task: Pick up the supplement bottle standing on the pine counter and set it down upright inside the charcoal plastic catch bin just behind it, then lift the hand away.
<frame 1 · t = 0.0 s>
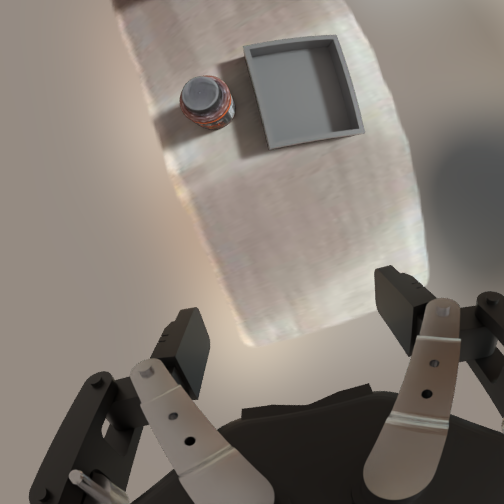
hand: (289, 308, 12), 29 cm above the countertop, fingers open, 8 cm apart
supplement bottle: (215, 111, 36), on the countertop
catch bin: (301, 92, 34), on the countertop
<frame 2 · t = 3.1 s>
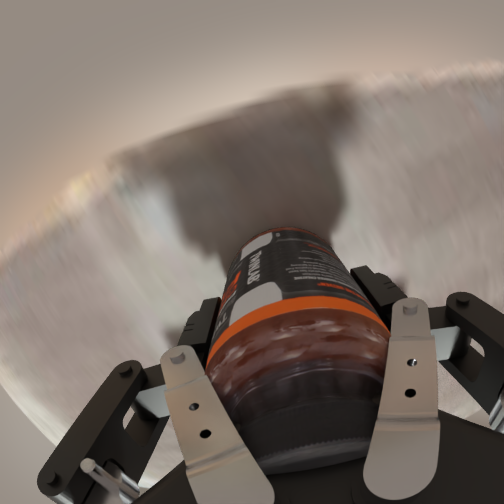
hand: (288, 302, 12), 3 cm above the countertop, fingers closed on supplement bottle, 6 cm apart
supplement bottle: (283, 277, 15), on the countertop, touching gripper
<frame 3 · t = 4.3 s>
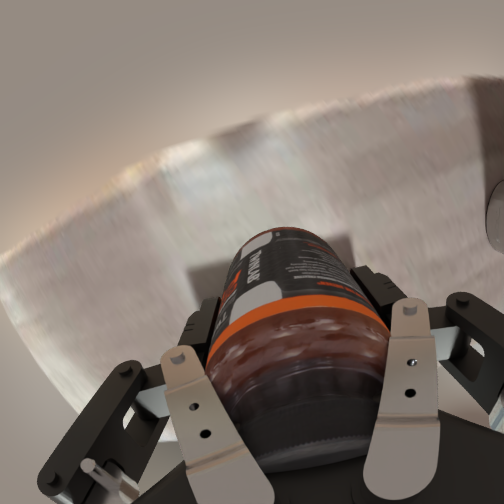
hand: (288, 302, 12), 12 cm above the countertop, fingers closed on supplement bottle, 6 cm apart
supplement bottle: (283, 276, 15), point 9 cm above the countertop, touching gripper
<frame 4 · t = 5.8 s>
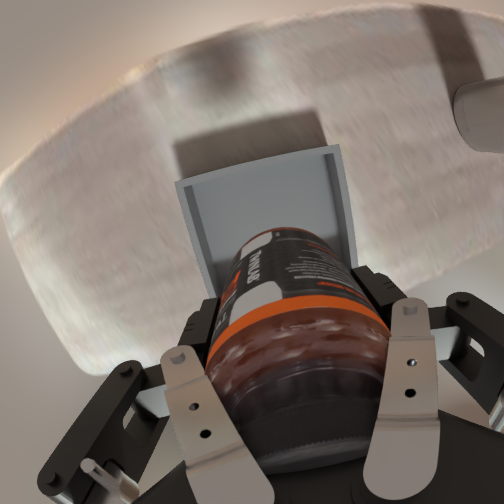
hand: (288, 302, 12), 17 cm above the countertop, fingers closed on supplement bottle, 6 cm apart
supplement bottle: (283, 276, 15), point 14 cm above the countertop, touching gripper
catch bin: (270, 221, 29), on the countertop
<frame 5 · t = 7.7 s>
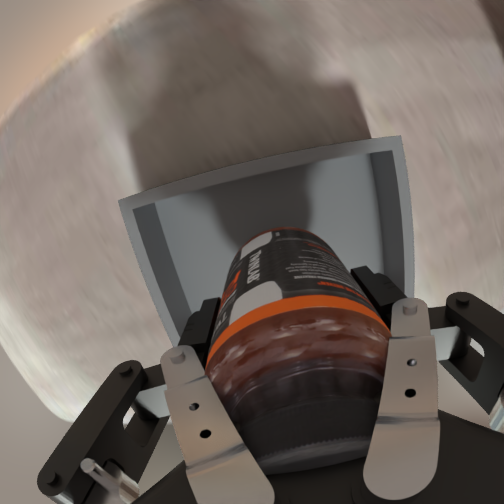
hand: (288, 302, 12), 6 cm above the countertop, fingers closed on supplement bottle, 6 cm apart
supplement bottle: (283, 276, 15), point 3 cm above the countertop, touching gripper
catch bin: (281, 258, 18), on the countertop
when the fingers open (5 cm above the countertop, at t = 8.9 s): supplement bottle drops 1 cm, resting on catch bin.
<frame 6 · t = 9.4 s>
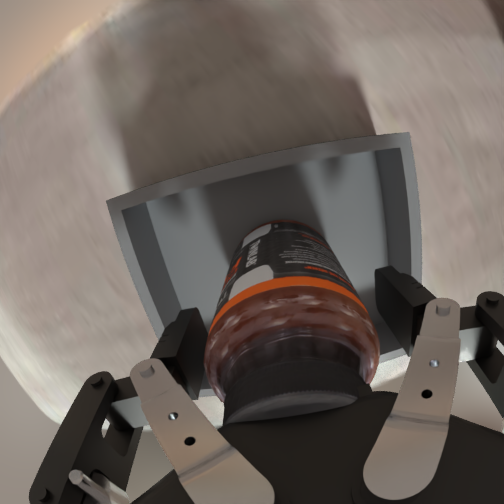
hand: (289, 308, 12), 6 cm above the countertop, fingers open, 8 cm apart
supplement bottle: (282, 265, 17), point 1 cm above the countertop, touching catch bin
catch bin: (280, 262, 17), on the countertop
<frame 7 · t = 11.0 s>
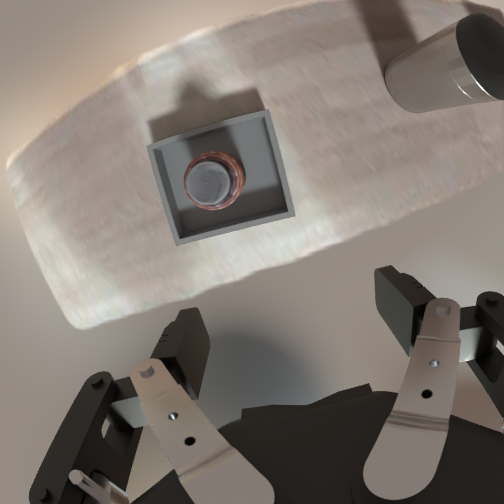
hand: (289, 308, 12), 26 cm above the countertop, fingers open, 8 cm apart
supplement bottle: (223, 176, 34), point 1 cm above the countertop, touching catch bin
catch bin: (223, 176, 35), on the countertop
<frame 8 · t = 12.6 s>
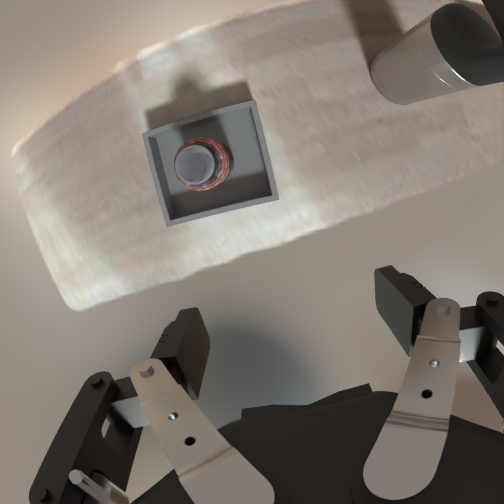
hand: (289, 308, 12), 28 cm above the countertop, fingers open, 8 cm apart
supplement bottle: (212, 162, 36), point 1 cm above the countertop, touching catch bin
catch bin: (213, 163, 37), on the countertop
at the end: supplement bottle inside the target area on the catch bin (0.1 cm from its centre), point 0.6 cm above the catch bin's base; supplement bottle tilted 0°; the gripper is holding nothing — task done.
